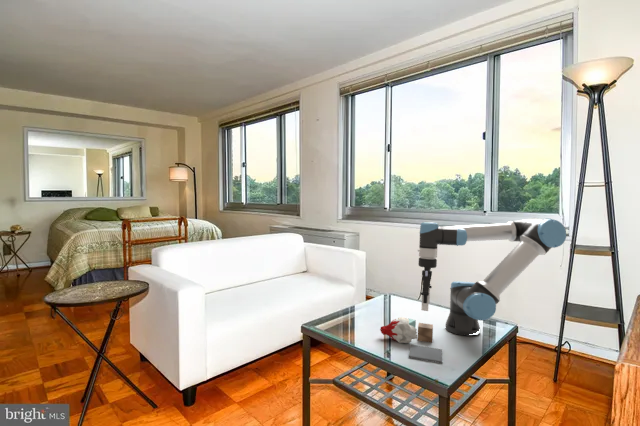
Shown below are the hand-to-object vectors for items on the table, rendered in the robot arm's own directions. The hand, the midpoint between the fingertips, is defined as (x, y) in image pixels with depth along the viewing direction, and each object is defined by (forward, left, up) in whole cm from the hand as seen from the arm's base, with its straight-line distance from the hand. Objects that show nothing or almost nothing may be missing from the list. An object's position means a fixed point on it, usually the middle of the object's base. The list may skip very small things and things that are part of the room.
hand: (425, 306), depth 150 cm
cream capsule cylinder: (+10, -5, -14) cm, 18 cm away
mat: (-1, +17, -14) cm, 22 cm away
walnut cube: (0, 0, -14) cm, 14 cm away
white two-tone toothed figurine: (+11, +6, -15) cm, 19 cm away
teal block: (+8, -11, -14) cm, 20 cm away
